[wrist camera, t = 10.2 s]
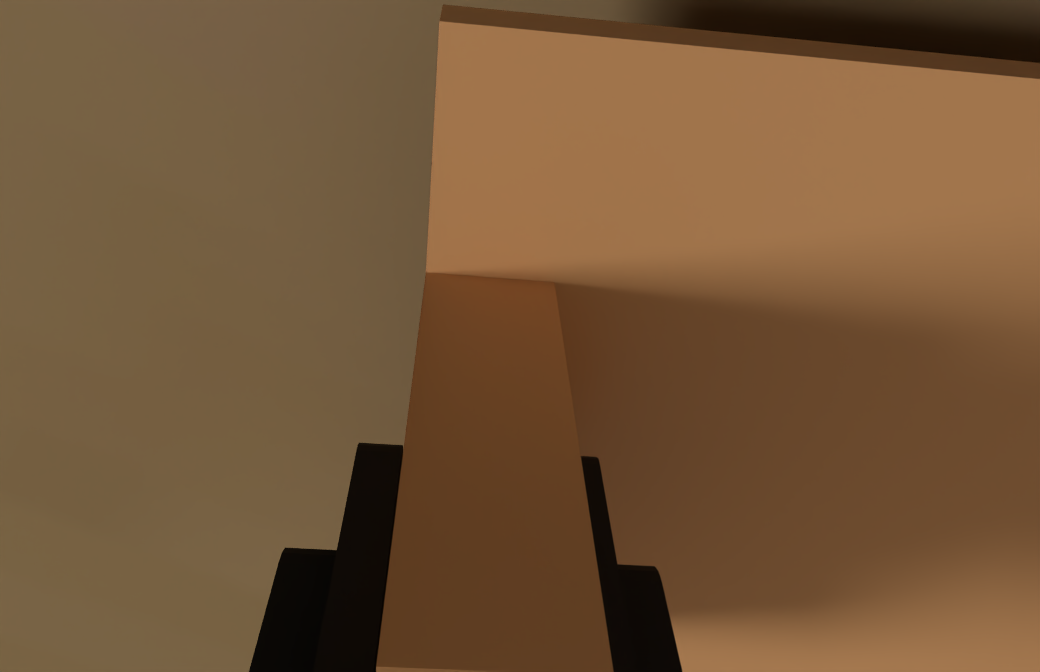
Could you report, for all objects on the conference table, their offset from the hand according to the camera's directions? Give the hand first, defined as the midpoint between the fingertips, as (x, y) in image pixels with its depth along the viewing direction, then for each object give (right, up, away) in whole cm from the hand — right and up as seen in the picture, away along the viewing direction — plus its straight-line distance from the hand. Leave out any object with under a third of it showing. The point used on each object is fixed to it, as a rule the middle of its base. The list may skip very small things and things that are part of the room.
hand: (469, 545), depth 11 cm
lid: (+7, +1, +4) cm, 8 cm away
